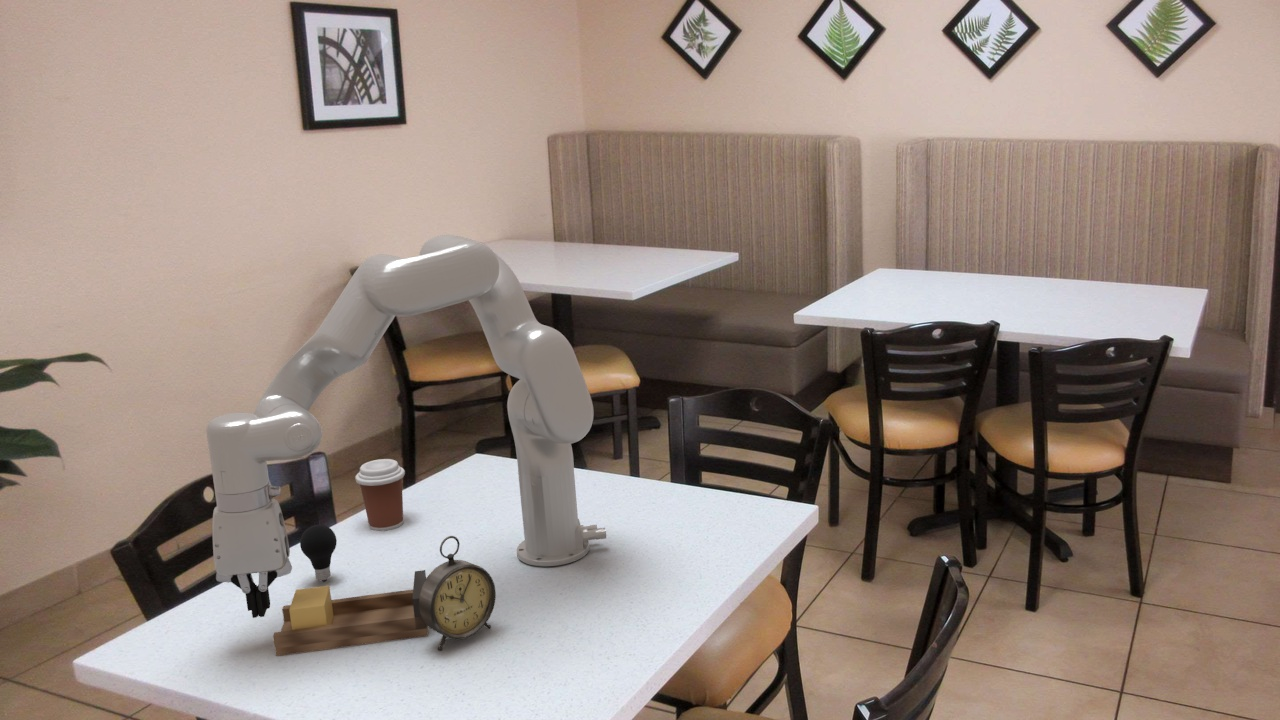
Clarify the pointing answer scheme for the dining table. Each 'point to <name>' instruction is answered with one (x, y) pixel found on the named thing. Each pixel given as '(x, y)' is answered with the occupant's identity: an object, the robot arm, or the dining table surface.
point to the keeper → (311, 608)
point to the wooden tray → (359, 622)
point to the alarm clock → (457, 598)
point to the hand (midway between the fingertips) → (260, 613)
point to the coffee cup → (382, 493)
